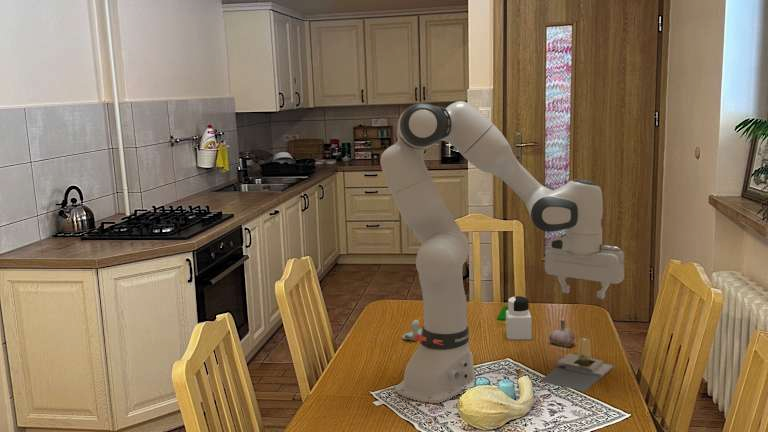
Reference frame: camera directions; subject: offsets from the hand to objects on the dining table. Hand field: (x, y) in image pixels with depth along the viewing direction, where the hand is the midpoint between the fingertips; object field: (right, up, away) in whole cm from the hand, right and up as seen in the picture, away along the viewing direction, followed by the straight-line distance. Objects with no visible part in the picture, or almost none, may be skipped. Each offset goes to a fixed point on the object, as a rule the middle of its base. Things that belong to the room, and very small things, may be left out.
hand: (583, 295), depth 184 cm
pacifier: (-42, -17, +35) cm, 58 cm away
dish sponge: (-10, -14, +50) cm, 53 cm away
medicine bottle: (-10, -16, +33) cm, 39 cm away
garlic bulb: (+1, -18, +25) cm, 30 cm away
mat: (-1, -21, 0) cm, 21 cm away
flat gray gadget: (+1, -19, +3) cm, 20 cm away
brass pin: (+1, -19, +3) cm, 20 cm away
